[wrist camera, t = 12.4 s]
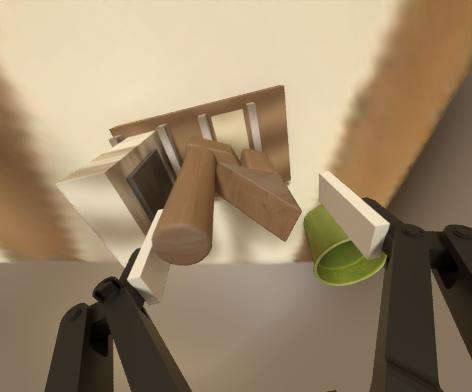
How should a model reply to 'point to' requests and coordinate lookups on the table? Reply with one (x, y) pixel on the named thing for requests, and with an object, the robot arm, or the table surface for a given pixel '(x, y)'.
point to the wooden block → (228, 187)
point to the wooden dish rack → (169, 162)
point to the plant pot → (336, 252)
